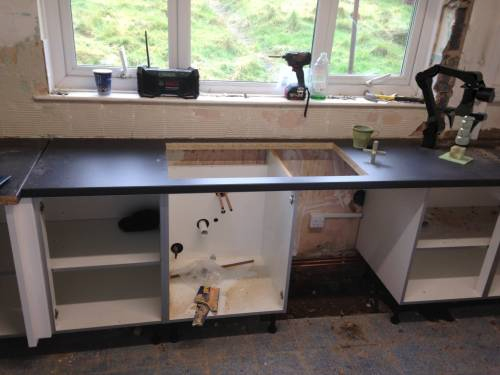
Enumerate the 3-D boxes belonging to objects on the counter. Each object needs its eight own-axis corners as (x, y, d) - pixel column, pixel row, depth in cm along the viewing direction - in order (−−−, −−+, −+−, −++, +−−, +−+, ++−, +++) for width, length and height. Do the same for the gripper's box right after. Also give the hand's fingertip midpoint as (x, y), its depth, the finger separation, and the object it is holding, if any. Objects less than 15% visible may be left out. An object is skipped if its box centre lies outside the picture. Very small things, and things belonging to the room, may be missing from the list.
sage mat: (438, 157, 205) (438, 156, 205) (448, 152, 213) (448, 152, 213) (464, 164, 197) (464, 163, 197) (473, 159, 205) (473, 158, 205)
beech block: (448, 157, 205) (451, 147, 203) (452, 155, 208) (455, 145, 206) (459, 160, 202) (462, 150, 200) (463, 158, 205) (465, 148, 203)
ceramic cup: (349, 148, 211) (352, 129, 207) (350, 142, 220) (352, 124, 216) (376, 151, 209) (379, 132, 205) (375, 145, 217) (379, 126, 213)
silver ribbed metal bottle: (469, 147, 223) (479, 109, 215) (455, 145, 224) (465, 108, 216) (466, 143, 229) (475, 107, 221) (452, 142, 230) (462, 105, 222)
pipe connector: (384, 160, 197) (388, 140, 193) (383, 167, 188) (387, 146, 184) (362, 157, 199) (365, 137, 195) (360, 164, 191) (363, 143, 187)
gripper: (442, 97, 200) (434, 129, 207) (483, 104, 189) (474, 138, 195) (451, 94, 208) (443, 125, 214) (491, 101, 196) (482, 134, 202)
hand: (460, 131), depth 206 cm, fingers open, 9 cm apart
